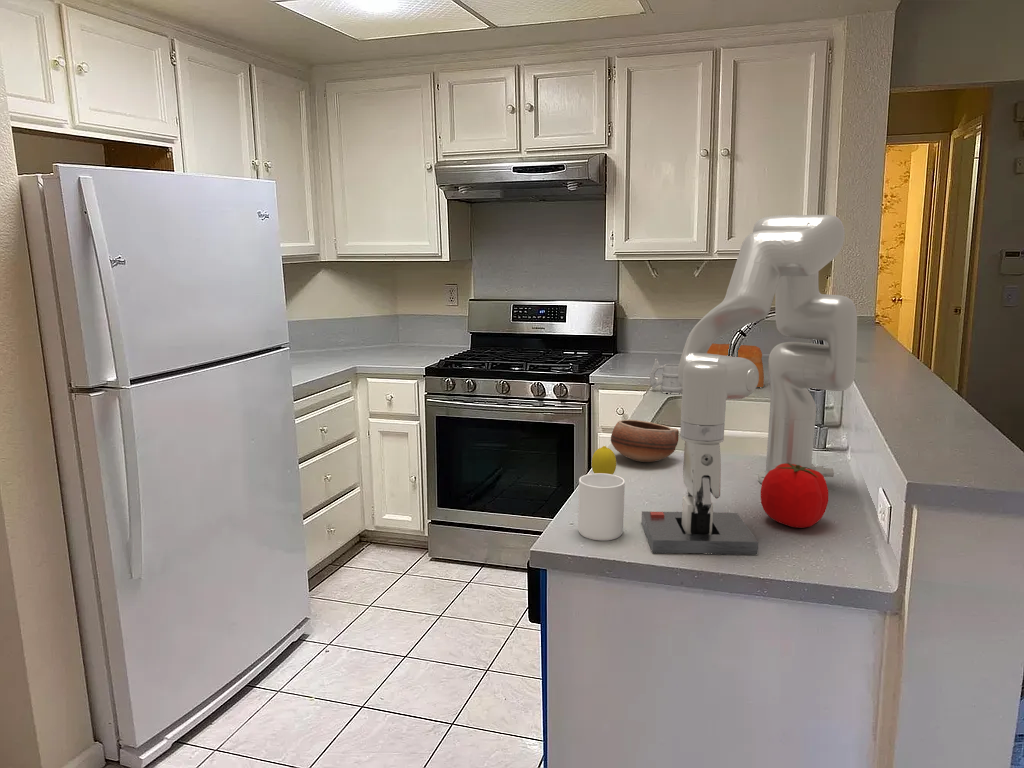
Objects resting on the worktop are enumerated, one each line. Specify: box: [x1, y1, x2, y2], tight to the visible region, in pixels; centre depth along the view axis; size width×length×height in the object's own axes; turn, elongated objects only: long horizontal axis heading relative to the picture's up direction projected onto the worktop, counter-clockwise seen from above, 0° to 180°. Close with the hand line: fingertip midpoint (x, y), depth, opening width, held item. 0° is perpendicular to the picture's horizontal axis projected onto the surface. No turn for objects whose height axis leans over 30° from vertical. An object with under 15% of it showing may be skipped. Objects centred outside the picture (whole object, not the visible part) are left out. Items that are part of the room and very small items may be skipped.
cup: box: [577, 472, 626, 542], centre depth 140 cm, size 8×12×10 cm
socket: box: [641, 511, 759, 555], centre depth 136 cm, size 18×14×3 cm
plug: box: [681, 493, 714, 534], centre depth 135 cm, size 4×4×8 cm
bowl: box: [610, 419, 680, 463], centre depth 184 cm, size 16×16×10 cm
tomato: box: [760, 462, 829, 529], centre depth 144 cm, size 12×13×12 cm
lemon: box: [591, 445, 617, 475], centre depth 169 cm, size 6×6×8 cm
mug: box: [649, 358, 683, 394], centre depth 267 cm, size 8×12×12 cm, turn 78°
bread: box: [707, 342, 765, 388], centre depth 283 cm, size 14×27×15 cm, turn 72°
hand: (696, 527), depth 136 cm, fingers closed on plug, 4 cm apart
